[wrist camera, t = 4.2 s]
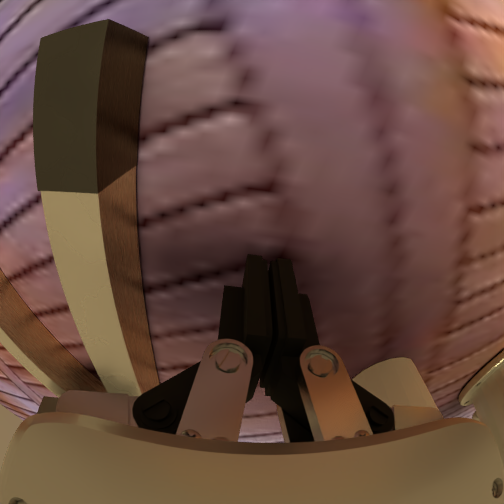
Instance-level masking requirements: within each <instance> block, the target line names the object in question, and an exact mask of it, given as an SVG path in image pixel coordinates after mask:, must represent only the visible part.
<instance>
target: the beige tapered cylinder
mask: <svg viewBox="0 0 504 504" xmlns="http://www.w3.org/2000/svg"><path fill="white" fill-rule="evenodd" d="M353 381H354V382H356V383H357V384H358V385H360V386H361V387H363V388H364V389H366V390H367V391H369V392H370V393H372V394H373V395H374V396H376V397H377V398H379V399H380V400H382V401H383V402H385V403H386V404H387V405H388V406H389V407H392V406H393V405H402V406H418V407H433V408H436V409H437V410H438V408H437V406H436V404H435V402H434V400H433V398H432V396H431V394H430V392H429V390H428V388H427V387H426V385H425V383H424V381H423V379H422V377H421V375H420V374H419V372H418V370H417V368H416V366H415V365H414V363H413V361H412V360H411V359H409V358H405V357H400V358H392V359H388V360H385V361H382V362H379V363H376V364H375V365H373V366H371V367H369V368H367V369H365V370H363V371H362V372H361V373H360V374H358V375H357V376H356V377H355V378H353Z"/></svg>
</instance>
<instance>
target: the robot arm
mask: <svg viewBox="0 0 504 504" xmlns="http://www.w3.org/2000/svg"><path fill="white" fill-rule="evenodd" d="M259 378H260V387H261V388H265V396H271V400H272V401H274V402H275V403H276V404H277V413H278V417H279V422H280V426H281V430H282V434H283V439H284V443H252V442H238V438H239V433H240V428H241V423H242V418H243V413H244V408H245V403H247V402H248V401H249V400H251V399H252V398H253V395H254V392H255V389H256V387H257V384H258V381H259ZM459 402H460V404H461V405H462V406H467V405H470V404H473V405H474V407H475V410H476V411H475V412H474V414H473V416H472V419H469V418H461V417H456V418H447V419H444V418H443V415H442V414H441V412H440V411H439V410H437V409H436V408H433V407H418V406H402V405H393V406H392V407H389V406H388V405H387V404H386V403H385V402H383V401H382V400H380V399H379V398H377V397H376V396H374V395H373V394H372V393H370V392H369V391H367V390H366V389H364V388H363V387H361V386H360V385H358V384H357V383H356V382H354V381H353V380H351V379H350V377H349V375H348V372H347V370H346V368H345V365H344V363H343V361H342V359H341V358H340V356H339V355H338V354H337V353H336V352H335V351H334V350H332V349H330V348H328V347H325V346H320V345H319V341H318V336H317V332H316V327H315V323H314V318H313V314H312V310H311V306H310V301H309V298H308V295H307V294H298V290H297V285H296V280H295V275H294V271H293V266H292V261H291V260H290V259H282V258H276V261H271V262H270V266H269V270H268V265H267V260H262V256H258V255H250V254H248V255H247V261H246V267H245V273H244V279H243V285H242V287H233V286H225V285H224V293H223V301H222V309H221V318H220V326H219V335H218V340H217V341H214V342H212V343H211V344H210V345H208V346H207V348H206V350H205V351H204V354H203V357H202V360H201V361H200V362H199V363H197V364H195V365H193V366H192V367H190V368H188V369H186V370H185V371H183V372H181V373H179V374H178V375H176V376H174V377H172V378H170V379H169V380H167V381H165V382H163V383H161V384H159V385H158V386H156V387H154V388H152V389H150V390H148V391H146V392H144V393H143V394H141V395H140V396H129V395H128V394H126V393H105V392H91V391H80V390H69V391H67V392H65V393H63V394H62V395H61V396H60V397H59V399H58V402H57V406H56V412H47V413H40V414H35V415H32V416H30V417H28V418H26V419H25V420H24V421H23V422H22V423H21V424H20V426H19V427H18V428H17V430H16V432H15V434H14V436H13V438H12V440H11V442H10V444H9V446H8V449H7V452H6V454H5V457H4V460H3V464H2V467H1V471H0V504H504V350H503V351H502V352H501V353H500V354H498V355H497V356H496V357H495V358H494V359H493V360H492V361H490V362H489V363H488V364H487V365H486V366H485V367H484V368H483V369H482V370H480V371H479V372H478V373H477V374H476V375H475V376H474V377H473V378H472V379H471V381H470V382H469V383H468V384H467V385H466V386H465V387H464V389H463V390H462V391H461V393H460V395H459Z"/></svg>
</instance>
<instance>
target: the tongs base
mask: <svg viewBox="0 0 504 504" xmlns="http://www.w3.org/2000/svg"><path fill="white" fill-rule="evenodd" d="M0 342H1V343H2V345H3V346H4V347H5V348H6V349H7V350H8V351H9V352H10V353H11V354H12V355H13V356H14V357H15V358H16V359H17V360H18V361H19V362H20V363H21V364H22V365H23V366H24V367H25V368H26V369H27V370H28V371H29V372H30V373H31V374H32V375H33V376H34V377H35V378H37V379H38V380H39V381H40V382H41V383H42V384H43V385H44V386H46V387H47V388H48V389H49V390H50V391H52V392H53V393H54V394H55V395H56V396H58V397H60V396H61V395H62V394H63V393H65V392H67V391H69V390H80V391H91V392H105V393H108V392H107V390H106V388H105V387H104V385H103V383H102V382H101V381H99V380H98V379H97V378H96V377H95V376H94V375H93V374H91V373H90V372H89V371H88V370H87V369H86V368H85V367H84V366H83V365H81V364H80V363H79V362H78V361H77V360H76V359H75V358H74V357H73V356H72V355H71V354H70V353H69V352H68V351H67V350H66V349H65V348H64V347H63V346H62V345H61V344H60V343H59V342H58V341H57V340H56V339H55V338H54V337H53V335H52V334H51V333H50V332H49V331H48V330H47V329H46V328H45V327H44V325H43V324H42V323H41V322H40V321H39V320H38V319H37V317H36V316H35V315H34V314H33V313H32V311H31V310H30V309H29V308H28V306H27V305H26V304H25V303H24V301H23V300H22V299H21V297H20V296H19V295H18V294H17V292H16V291H15V289H14V288H13V287H12V285H11V284H10V283H9V281H8V280H7V278H6V277H5V275H4V274H3V272H2V271H1V269H0Z"/></svg>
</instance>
